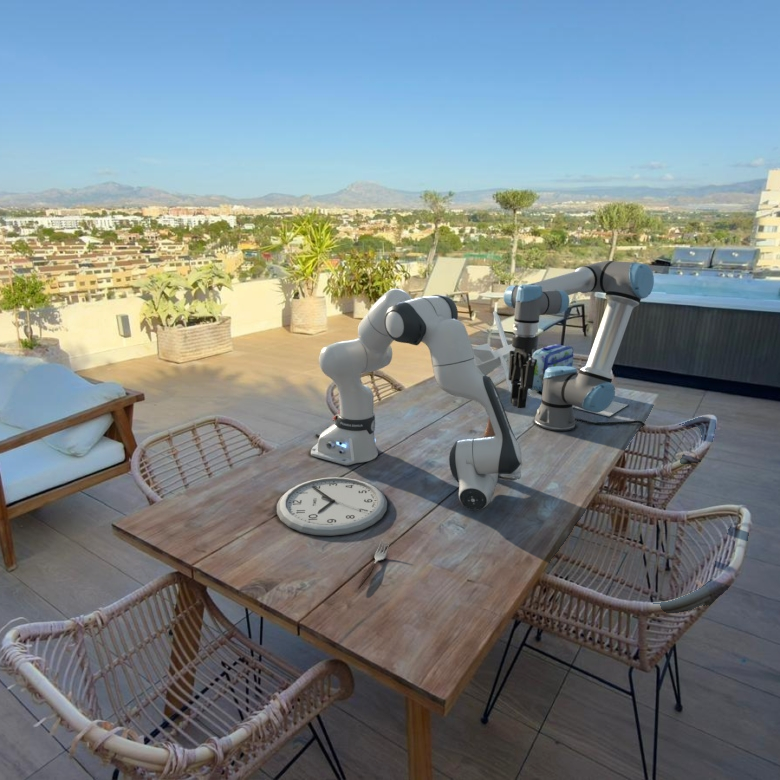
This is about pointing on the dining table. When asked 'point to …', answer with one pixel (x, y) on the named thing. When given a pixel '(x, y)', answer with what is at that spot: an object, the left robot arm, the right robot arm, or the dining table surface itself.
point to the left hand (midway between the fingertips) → (489, 455)
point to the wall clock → (331, 506)
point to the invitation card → (609, 409)
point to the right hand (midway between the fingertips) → (517, 405)
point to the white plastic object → (494, 355)
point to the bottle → (489, 430)
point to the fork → (378, 557)
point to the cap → (515, 401)
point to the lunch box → (550, 361)
